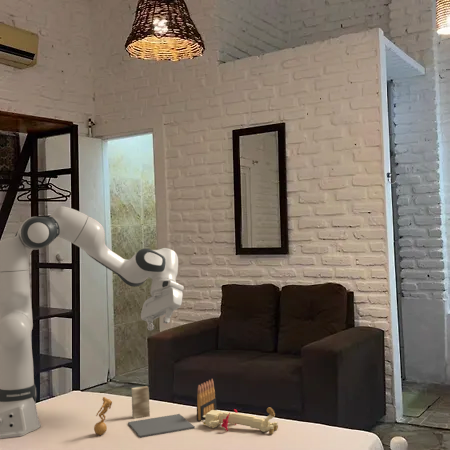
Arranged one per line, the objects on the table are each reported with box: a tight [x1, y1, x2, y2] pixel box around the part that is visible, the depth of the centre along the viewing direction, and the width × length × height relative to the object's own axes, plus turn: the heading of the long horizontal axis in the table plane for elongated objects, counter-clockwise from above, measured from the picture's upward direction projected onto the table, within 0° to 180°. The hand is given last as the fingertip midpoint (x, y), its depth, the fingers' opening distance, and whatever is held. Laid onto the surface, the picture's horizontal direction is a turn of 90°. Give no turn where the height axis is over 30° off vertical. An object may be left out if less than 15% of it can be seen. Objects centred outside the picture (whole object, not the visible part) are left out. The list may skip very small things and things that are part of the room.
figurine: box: [93, 396, 113, 436], centre depth 195 cm, size 8×6×12 cm
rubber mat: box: [127, 413, 196, 438], centre depth 201 cm, size 18×16×1 cm
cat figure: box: [200, 407, 279, 435], centre depth 195 cm, size 10×9×25 cm
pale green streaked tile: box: [130, 385, 151, 419], centre depth 213 cm, size 6×2×10 cm, turn 112°
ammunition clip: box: [196, 378, 218, 422], centre depth 209 cm, size 11×2×12 cm, turn 152°
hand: (158, 326), depth 214 cm, fingers open, 8 cm apart
